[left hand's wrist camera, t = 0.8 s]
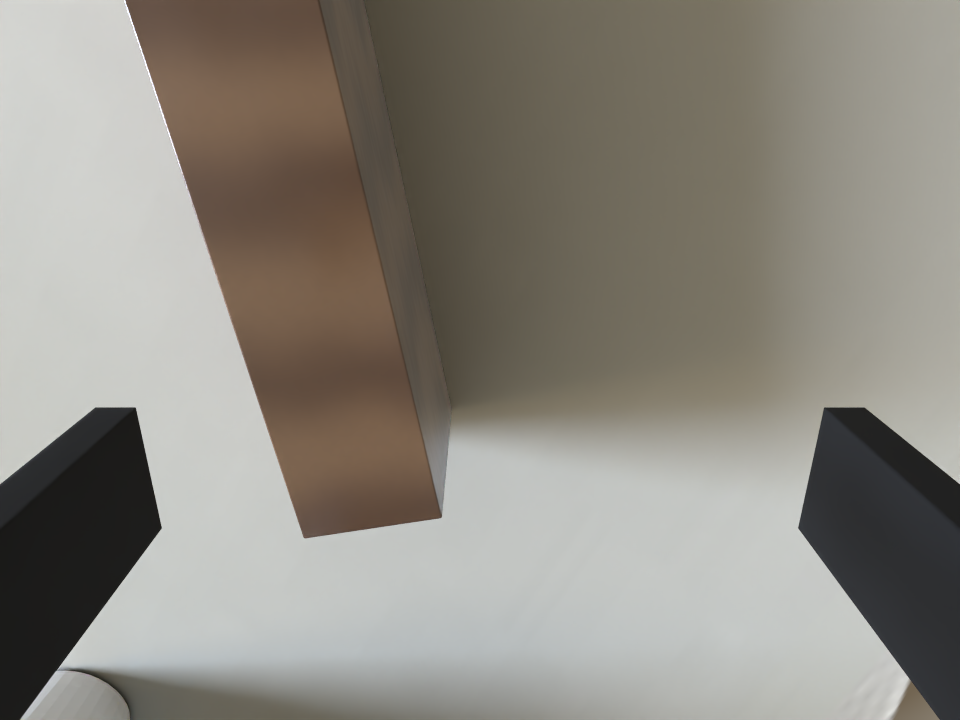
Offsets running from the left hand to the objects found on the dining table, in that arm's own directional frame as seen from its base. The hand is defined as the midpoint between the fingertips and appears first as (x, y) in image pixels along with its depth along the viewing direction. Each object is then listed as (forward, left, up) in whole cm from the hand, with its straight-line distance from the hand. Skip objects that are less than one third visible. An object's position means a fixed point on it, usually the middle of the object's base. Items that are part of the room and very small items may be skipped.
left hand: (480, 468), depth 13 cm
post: (+20, +21, -17) cm, 34 cm away
